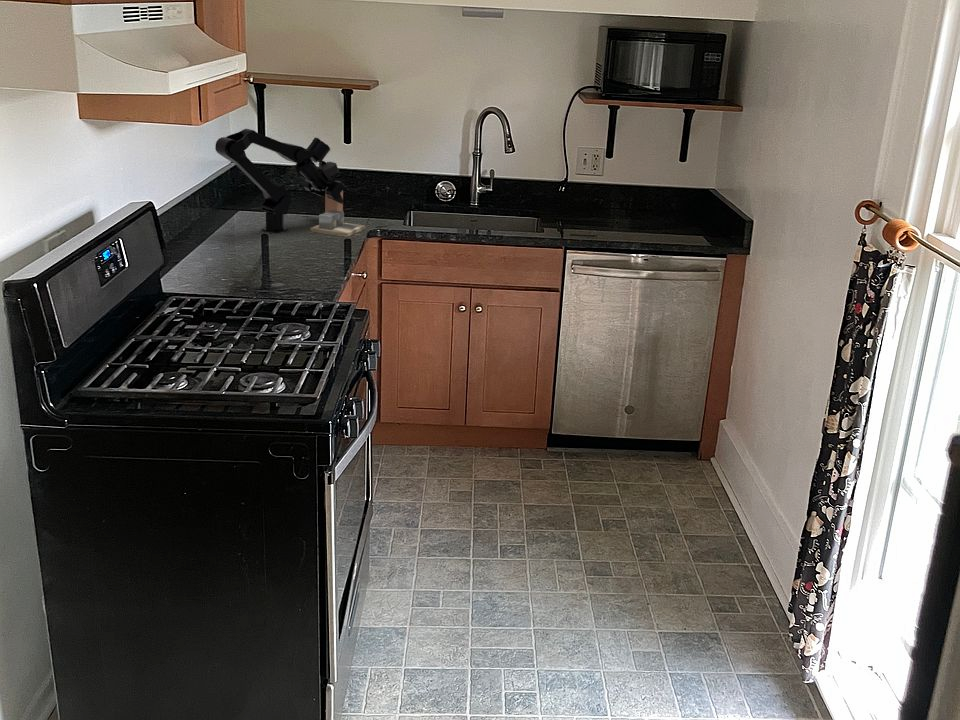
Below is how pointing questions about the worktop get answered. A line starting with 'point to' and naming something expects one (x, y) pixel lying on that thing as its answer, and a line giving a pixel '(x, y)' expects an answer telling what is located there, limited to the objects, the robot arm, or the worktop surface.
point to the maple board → (339, 230)
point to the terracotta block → (332, 204)
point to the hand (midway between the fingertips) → (337, 201)
